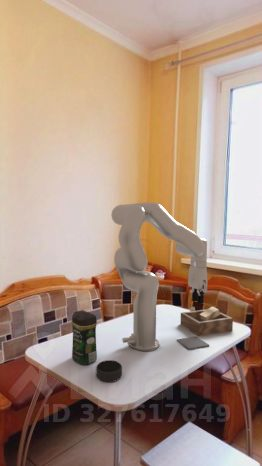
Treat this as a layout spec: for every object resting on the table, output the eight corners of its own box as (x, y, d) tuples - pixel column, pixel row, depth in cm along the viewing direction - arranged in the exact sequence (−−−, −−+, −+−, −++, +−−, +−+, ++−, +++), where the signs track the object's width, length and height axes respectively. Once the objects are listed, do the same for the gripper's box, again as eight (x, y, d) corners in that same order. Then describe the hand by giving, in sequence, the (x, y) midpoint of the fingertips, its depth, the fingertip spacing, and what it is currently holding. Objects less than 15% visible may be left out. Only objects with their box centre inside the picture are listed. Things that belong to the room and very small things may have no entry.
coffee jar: (68, 358, 126) (68, 311, 125) (86, 352, 131) (85, 307, 130) (82, 367, 119) (82, 317, 117) (100, 361, 124) (100, 313, 122)
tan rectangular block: (207, 322, 157) (205, 317, 156) (201, 319, 161) (199, 314, 161) (220, 314, 159) (218, 309, 159) (214, 311, 164) (212, 306, 163)
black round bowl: (127, 376, 113) (127, 365, 113) (107, 386, 107) (107, 374, 106) (110, 367, 119) (110, 357, 119) (90, 376, 113) (90, 365, 113)
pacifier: (193, 322, 168) (200, 319, 172) (193, 310, 167) (200, 307, 171) (182, 318, 173) (189, 315, 177) (182, 307, 173) (189, 304, 177)
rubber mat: (188, 349, 134) (188, 348, 134) (176, 340, 143) (176, 339, 143) (209, 346, 138) (209, 344, 138) (196, 337, 147) (196, 336, 147)
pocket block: (198, 336, 149) (198, 323, 148) (180, 324, 164) (180, 312, 163) (232, 330, 156) (232, 318, 155) (212, 319, 171) (212, 308, 170)
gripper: (182, 262, 162) (181, 298, 163) (201, 267, 146) (200, 308, 148) (195, 261, 165) (194, 297, 166) (215, 266, 149) (214, 306, 151)
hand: (197, 301), depth 157 cm, fingers open, 3 cm apart
